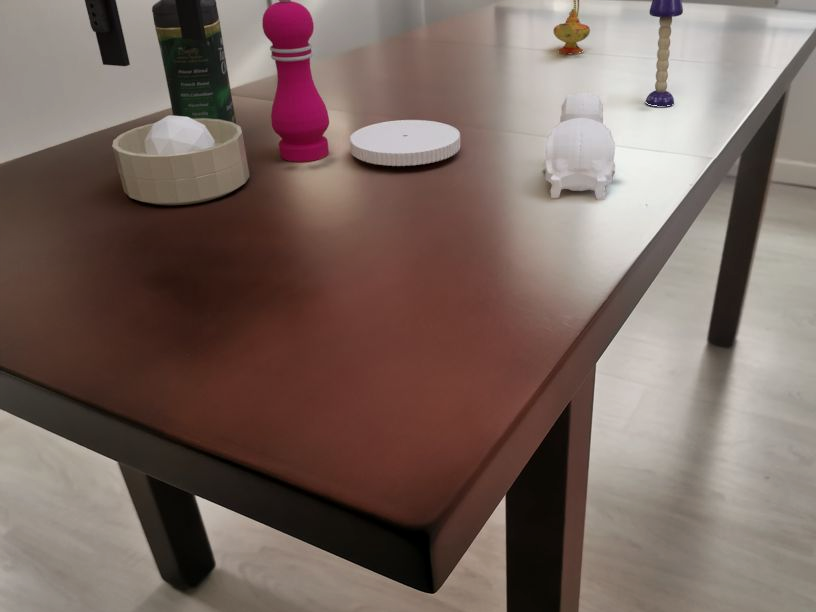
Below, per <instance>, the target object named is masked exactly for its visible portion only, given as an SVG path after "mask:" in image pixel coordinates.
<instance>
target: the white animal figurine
mask: <svg viewBox="0 0 816 612" xmlns="http://www.w3.org/2000/svg"><path fill="white" fill-rule="evenodd" d="M560 113H561V114H560V119H559V120H560V121H559V123H558V124H557V125H555V126H554V127H553V128H552V129H551V132H550V133H549V136H548V138H547V140H546V142H545V143H546V145H545V160H544V162H543V164H542V165H543V167H542V172H544V173H545V178H544V179H545V181H546V182H548V183H550V185H551V187H550V190H549V192H550V198H551V199H560V195H561V192H562V190H570V191H572V192H573V191H575V192H583V191H588V190H591V191H594V194H595V200H599V201H600V200H602V201H603V200H605V195H606V194H607V193H606V187H605V186H606V185H608V184H610V183H612V182H613V174H615V173H616V163H615V161H614V160H615V150H616V143H615V139H614V136H613V134H612V131H611V129H610V128H609V127H607V126H606V125H605V124H604V115H603V113H604V105H603V103H602V100H601V98H600V96H599V95H596V94H594V93H590V92H582V91H581V92H574V93H572V94H569V95H566V97H565V99H564V101H563V102H562V105H561V112H560Z"/></svg>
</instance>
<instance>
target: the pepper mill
mask: <svg viewBox="0 0 816 612" xmlns="http://www.w3.org/2000/svg"><path fill="white" fill-rule="evenodd" d="M314 27H315V26H314V20H313V17H312V14H311V12H310V11H309V9H308V8H307V7H306V6H304V5H303V4H302V3H300V2H296V1H292V0H278V1H277V2H274V3H273V4H271V5H270V6H267V8H266V9H265V11H264V13H263V15H262V30H263V34H264V35H265V37H266V38H267V39H268V41H270V43H271V44H272V45H271V46H270V47H269V50H270V51H271V52H270V53H271V54H270V57H271V59H272V60H274V61H275V67H276V73H277V82H276V83H277V84H276V90H275V94H274V99H273V103H272V105H271V113H270V121H271V127H272V129H273V131H274V132H275V134H277V135H278V136H279V137H280V138H281V139H280V140H279V142H278V150H279V156H280V158H281V159H283V160H285V161H287V162H292V163H294V162H296V163H302V162H312V161H313V162H314V161H316V160H320V159H323V158H325V157H327V156H328V154H329V152H330V151H329V150H330V149H329V141H328V138H327V137H326V136H324V135H325V132H326V131H327V130H328V128H329V125H330V117H329V112H328V109H327V106H326V104H325V102H324V100H323V99H322V97H321V94H320V93H319V91H318V89H317V87H316V84H315V82H314V79H313V74H312V70H311V58H313V55H314V53H313V52H312V48H313V45H312V44H311V43H310V42H309V41H310V39H311V37H312V36H313V33H314V29H315V28H314Z"/></svg>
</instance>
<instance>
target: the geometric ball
mask: <svg viewBox="0 0 816 612" xmlns="http://www.w3.org/2000/svg"><path fill="white" fill-rule="evenodd" d="M154 123H155V124H153V125H152V127H151V129H150V131H149V133H148V135H147V137H146V139H145V148H146V154H147V155H166V154H177V153H186V152H192V151H197V150H202V149H207V148H210V147H213V146H215V140H214V139H213V137H212V136H211V134H210V133H209V131H208V130H207V128H206V126H205V125H203V124H201V123H199V122H197V121H195V120H193V119H191V118H189V117H184V116H173V115H167V116H165V117H163V118H162V119H159V120H158V121H156V122H154Z"/></svg>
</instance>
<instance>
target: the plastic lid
mask: <svg viewBox="0 0 816 612" xmlns="http://www.w3.org/2000/svg"><path fill="white" fill-rule="evenodd" d="M349 147H350V154H351V155H352V156H353V157H354V158H356V159H357V160H359V161H362V162H366V163H369V164H373V165H380V166H381V165H382V166H388V167H389V166H392V167H395V166H396V167H401V166H402V167H405V166H408V167H409V166H417V165H418V166H420V165H426V164H430V163H432V164H433V163H435V162H439V161H443V160H446V159H448V158H450V157H453V156H455V155H456V154H457V153H458V152H459V151H460V149H461V132H460V130H458V128H456V127H454V126H452V125H451V124H450V125H449V124H446V123H444V122H443V123H442V122H439V121H434V120H427V119H426V120H425V119H423V120H422V119H401V120H399V119H398V120H397V119H396V120H391V121H390V120H388V121H383V122H378V123H377V122H376V123H374V124H370V125H367V126H364V127H361V128H358V130H355V131H354V132H353V133H351V134H350V136H349Z"/></svg>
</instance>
